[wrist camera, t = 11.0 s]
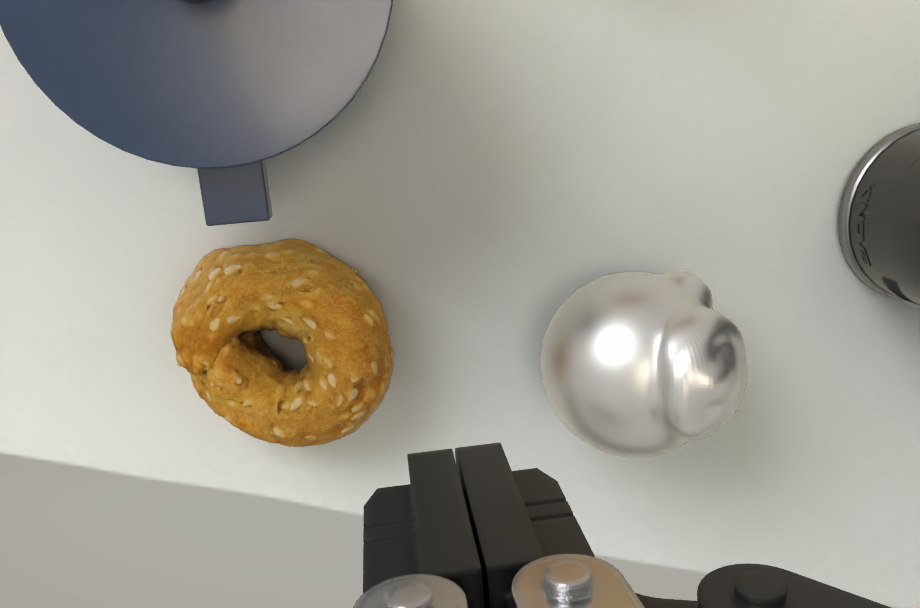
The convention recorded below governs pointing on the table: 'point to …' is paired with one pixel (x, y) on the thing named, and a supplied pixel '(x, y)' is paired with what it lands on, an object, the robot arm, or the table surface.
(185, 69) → the pot lid
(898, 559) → the table surface
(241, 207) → the pot
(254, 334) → the bagel
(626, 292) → the silver round bulb
